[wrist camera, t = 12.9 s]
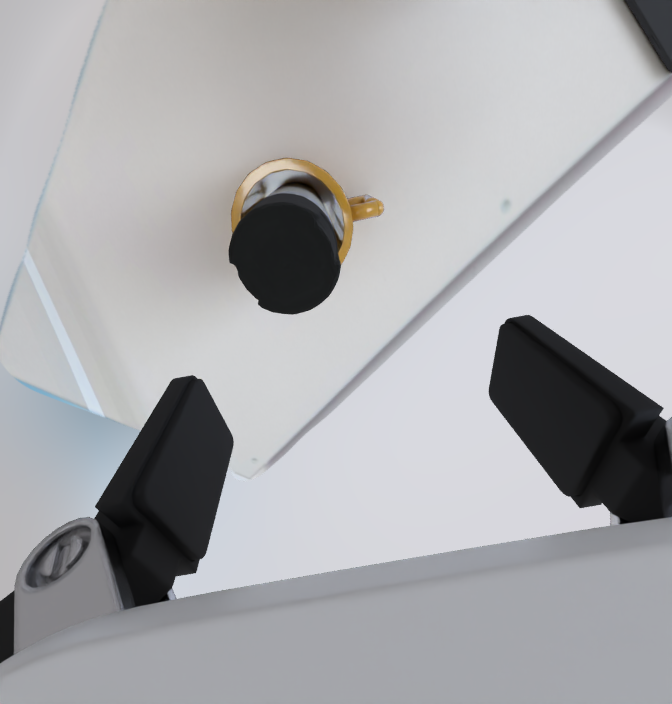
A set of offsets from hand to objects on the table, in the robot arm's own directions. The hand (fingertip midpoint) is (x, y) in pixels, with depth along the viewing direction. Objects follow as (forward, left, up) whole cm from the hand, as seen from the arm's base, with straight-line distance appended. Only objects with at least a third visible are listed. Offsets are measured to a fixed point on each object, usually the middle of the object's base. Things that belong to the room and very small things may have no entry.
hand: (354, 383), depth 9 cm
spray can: (+1, -3, -30) cm, 30 cm away
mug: (0, -1, -31) cm, 31 cm away
